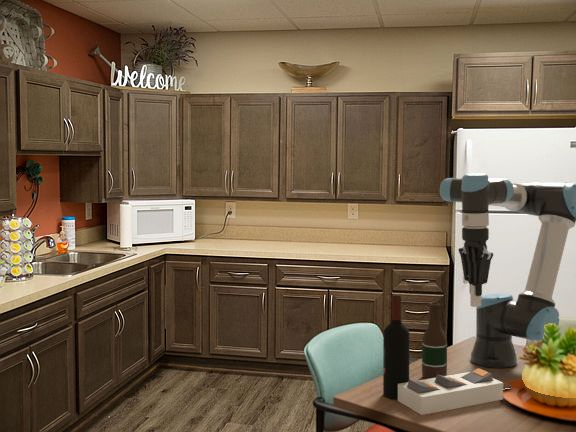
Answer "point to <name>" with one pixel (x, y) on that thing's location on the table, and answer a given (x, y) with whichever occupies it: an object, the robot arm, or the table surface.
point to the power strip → (450, 395)
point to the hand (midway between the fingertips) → (475, 305)
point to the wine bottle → (395, 352)
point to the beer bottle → (434, 346)
